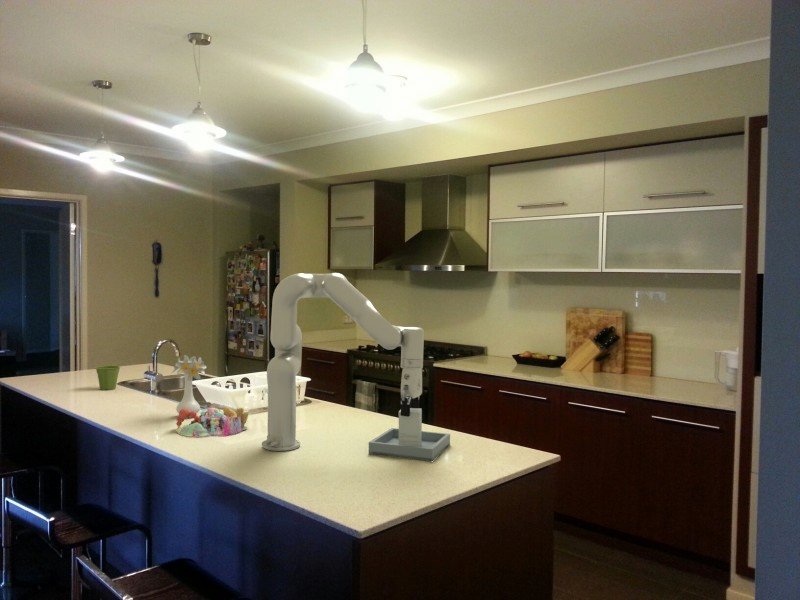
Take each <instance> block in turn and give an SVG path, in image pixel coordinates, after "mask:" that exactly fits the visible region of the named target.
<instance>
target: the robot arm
mask: <svg viewBox="0 0 800 600" xmlns="http://www.w3.org/2000/svg"><path fill="white" fill-rule="evenodd" d="M272 295H273V296H272V302H271V303H272V307H271V320H270V321H271V322H270V323H271V324H270V338H269V339H270V342H271V345H272V346H273V348H274V357H273V358H271V359H270V360H269V362H268V365H267V368H266V381H267V435H266V440H263V441H261V446H262V447H263V449H265V450H268V451H272V452H283V451H285V452H286V451H293V450H296V449H298V448H299V447H301V442H300V441H299V440H297V438H296V437H297V436H296V435H297V434H296V433H297V431H296V429H297V384H296V376H297V375H298V373H300V370H301V368H302V353H303V351H302V349H303V348H302V347H303V334H302V330H301V327H300V326H299V325H298V323H297V322H298V320H297V318H298V302H299V300H300V299H306V298H309V299H310V298H329V299H330V300H331V301H332V302H333V303H334V304H336V305H337V306H338V308H340V309H341V310H342V311H343V312H344V313H345V314H346V315H348V317H350V318H351V319H352V320H353V321H354V323H356V325H358V326H359V327H360V328H361V329H363V331H365V332H366V333H367V335H368V336H370V337H371V338H372V339H373V340H374V341H376V343H377V344H378V345H380V346H381V347H382V348H383V349H386V350H394V349H396V348H398V347H401V349H400V351H401V352H400V353H401V354H400V368H401V369H402V372H401V378H400V379H401V380H400V381H401V383H400V410H401V414H400V415H401V416H407V417H409V416H410V408H420V396H421V395H423V372H422V371H423V370H422V369H423V368H424V343H425V342H424V341H425V331H424V329H423V328H422V327H419V326H418V327H417V326H407V327H406V326H405V327H404V326H397V325H393V324H391V323H390V322H389V321H388V320H387V319H386V318H385V317H383V315H381V314H380V312H379V311H377V309H376V308H375V307H374V305H373V303H372V302H371V301H370V300H369V298H367V297H366V296H365V295H364V294H363V293H362V292H360V290H358V289H357V288H356V287H355V286H353V284H352V283H351V282H349V280H348V279H347V277H346V276H345V275H344V274H342V273H339V272H331V273H303V272H301V273H299V272H298V273H294V274H291V275H288V276H287V277H285V278H284V279H282V280H281V281H280V282H279V283H278V284H277V286H276V287H275V289H274V292H273V294H272Z"/></svg>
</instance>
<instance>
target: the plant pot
mask: <svg viewBox="0 0 800 600" xmlns="http://www.w3.org/2000/svg"><path fill="white" fill-rule="evenodd" d="M94 368H95V370H96V374H97V379H98V384H99V390H101V391H105V390H109V391H112V390H115V389H116V388H117V382H118V377H119V372H120V369H121V365H103V366H95V367H94Z"/></svg>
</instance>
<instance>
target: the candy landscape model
mask: <svg viewBox="0 0 800 600" xmlns="http://www.w3.org/2000/svg"><path fill="white" fill-rule="evenodd" d="M244 411H245V409H244V408H243V407H237V408H236V411H234V410H233V409H232V408H231V407H229V406H222V408H221V409H218V408H217V407H216V408H215V406H213V407H209V408H207V410H206V409H205V410H201V412H200V415H199V416H198V413H196V412H195V411H191V412H190V411H189V410H188V409H186V408H184V409H182V410H180V412H179V413H178V416H177V417H176V426H177V427H176V429H175V433H176V434H177V435H180V436H182V437H185V438H196V439H200V438H202V439H203V438H207V437H226V436H229V435H230V436H231V435H237V434H239V433H242V431H245V430H247V429H248V426H246V423H247V421H248V419H249V418H248V417H249V412H245V413H244ZM189 416H190V417H191V419H193V420H191V421H190V423H189V424H186V425H182V424H183V422H184V421H186V420H188V419H190V418H189Z"/></svg>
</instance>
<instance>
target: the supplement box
mask: <svg viewBox="0 0 800 600" xmlns="http://www.w3.org/2000/svg"><path fill="white" fill-rule="evenodd" d="M422 412H423V410H422V408H420V407H419V408H410V416H409V417H407V416H401V415H400V414H401V409H400V410H398V429H399V445H408V446H417V447H421V444H422V431H423V430H422V426H423V425H422V424H423V422H422V420H423V417H422V416H423V415H422V414H423V413H422Z"/></svg>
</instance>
